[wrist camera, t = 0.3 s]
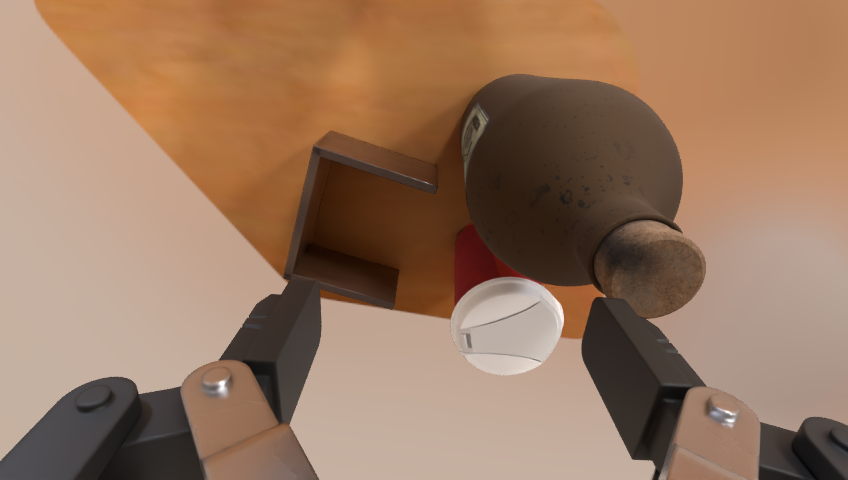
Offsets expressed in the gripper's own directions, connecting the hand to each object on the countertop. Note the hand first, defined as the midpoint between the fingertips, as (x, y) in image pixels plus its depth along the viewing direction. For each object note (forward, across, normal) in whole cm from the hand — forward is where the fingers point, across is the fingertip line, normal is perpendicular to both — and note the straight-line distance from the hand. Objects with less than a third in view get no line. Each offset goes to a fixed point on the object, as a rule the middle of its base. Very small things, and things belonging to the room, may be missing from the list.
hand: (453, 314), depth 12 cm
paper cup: (+27, -5, +10) cm, 29 cm away
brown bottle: (+27, -6, -1) cm, 28 cm away
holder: (+27, +6, +7) cm, 28 cm away
